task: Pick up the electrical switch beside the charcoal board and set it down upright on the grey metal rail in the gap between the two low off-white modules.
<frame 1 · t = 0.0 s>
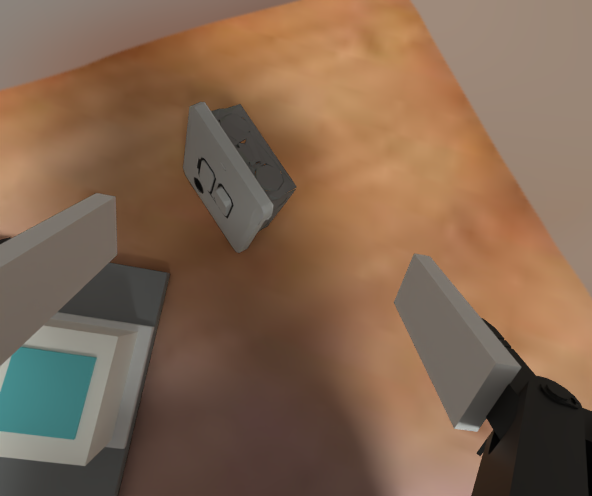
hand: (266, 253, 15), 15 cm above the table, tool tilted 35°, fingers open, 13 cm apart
electrical switch: (234, 197, 31), on the table
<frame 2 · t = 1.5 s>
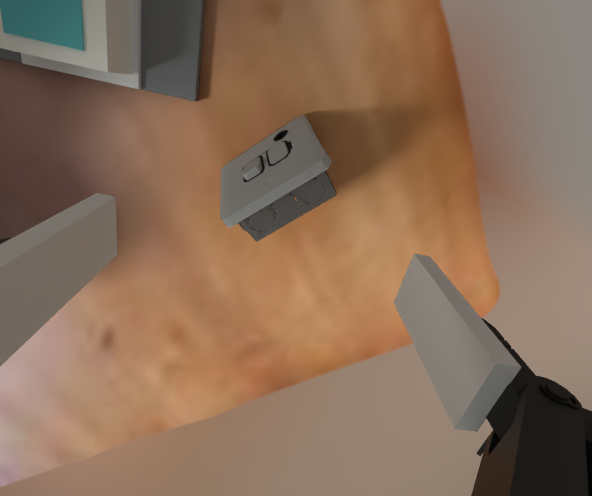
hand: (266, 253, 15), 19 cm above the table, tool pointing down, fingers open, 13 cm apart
electrical switch: (278, 163, 32), on the table
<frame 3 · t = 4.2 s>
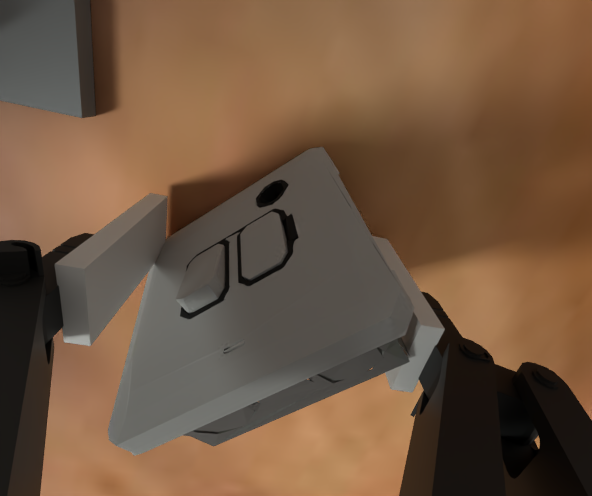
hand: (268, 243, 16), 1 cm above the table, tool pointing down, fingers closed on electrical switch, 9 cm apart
electrical switch: (269, 235, 16), on the table, touching gripper
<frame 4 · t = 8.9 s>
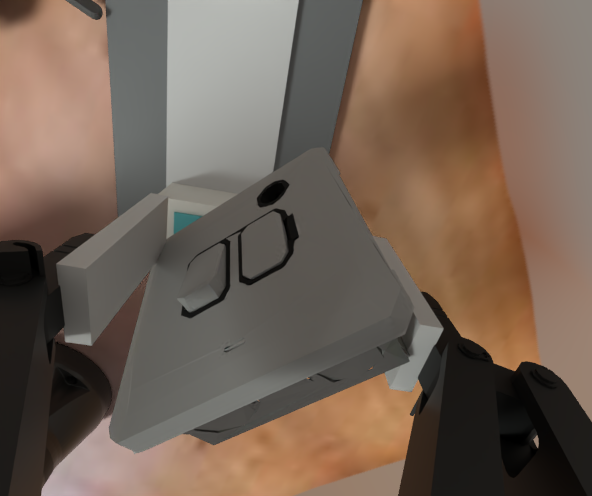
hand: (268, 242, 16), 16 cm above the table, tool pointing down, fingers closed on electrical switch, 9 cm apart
rail board: (229, 91, 27), on the table
electrical switch: (270, 235, 16), point 15 cm above the table, touching gripper
when the fingers open (4 cm above the table, at t = 13.7 s): electrical switch drops 1 cm, resting on rail board.
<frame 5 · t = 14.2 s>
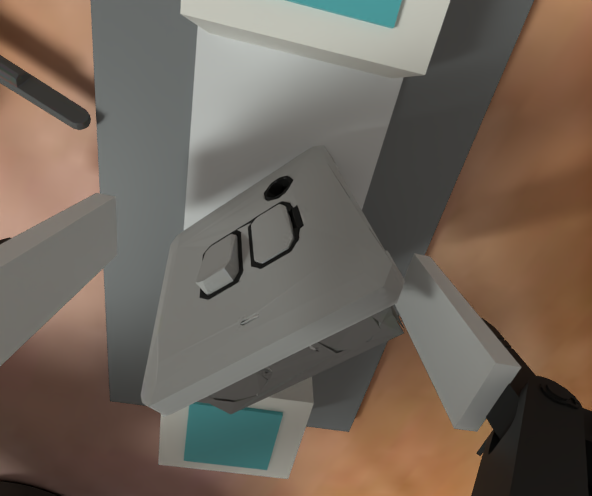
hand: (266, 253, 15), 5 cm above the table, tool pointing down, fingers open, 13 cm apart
rail board: (272, 216, 19), on the table
electrical switch: (276, 228, 18), point 1 cm above the table, touching rail board
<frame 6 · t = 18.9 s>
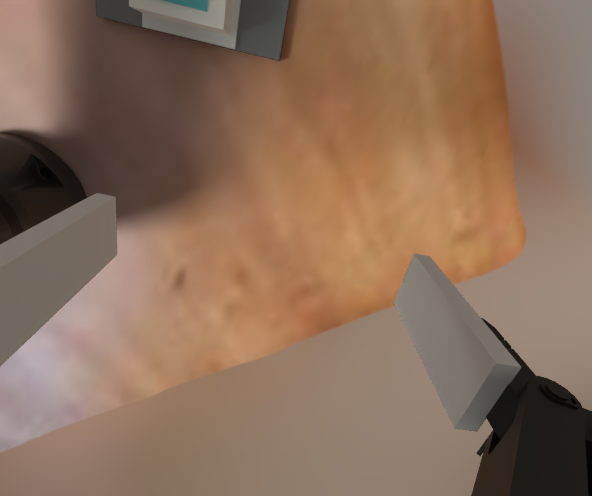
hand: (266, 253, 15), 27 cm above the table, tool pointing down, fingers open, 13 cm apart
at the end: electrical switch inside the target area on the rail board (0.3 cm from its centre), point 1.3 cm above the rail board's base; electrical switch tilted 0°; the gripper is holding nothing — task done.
